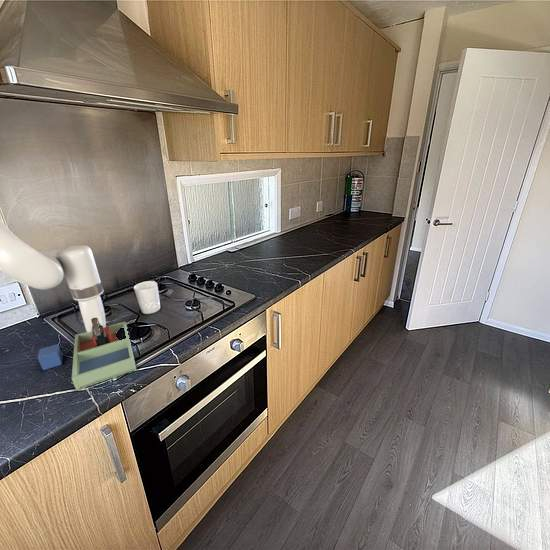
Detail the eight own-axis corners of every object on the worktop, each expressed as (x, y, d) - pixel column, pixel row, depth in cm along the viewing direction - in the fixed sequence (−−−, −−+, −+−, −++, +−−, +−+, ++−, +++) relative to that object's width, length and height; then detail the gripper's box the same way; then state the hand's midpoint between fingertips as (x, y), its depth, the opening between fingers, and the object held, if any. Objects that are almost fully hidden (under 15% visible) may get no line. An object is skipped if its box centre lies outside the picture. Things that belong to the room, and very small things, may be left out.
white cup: (161, 302, 114) (156, 279, 111) (162, 312, 108) (157, 287, 104) (140, 306, 112) (134, 283, 108) (139, 316, 105) (133, 291, 101)
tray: (76, 390, 73) (71, 378, 71) (78, 345, 91) (75, 334, 89) (136, 369, 79) (133, 358, 78) (127, 331, 97) (125, 321, 95)
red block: (96, 350, 86) (92, 337, 84) (96, 342, 90) (92, 330, 88) (113, 345, 88) (109, 333, 86) (112, 338, 92) (108, 326, 90)
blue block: (42, 370, 80) (37, 357, 79) (44, 361, 84) (39, 348, 82) (62, 364, 82) (57, 351, 81) (63, 356, 86) (58, 343, 84)
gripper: (72, 282, 87) (90, 334, 94) (69, 305, 73) (90, 364, 80) (101, 276, 90) (116, 326, 97) (103, 298, 77) (120, 354, 84)
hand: (104, 343), depth 89 cm, fingers closed on red block, 4 cm apart
